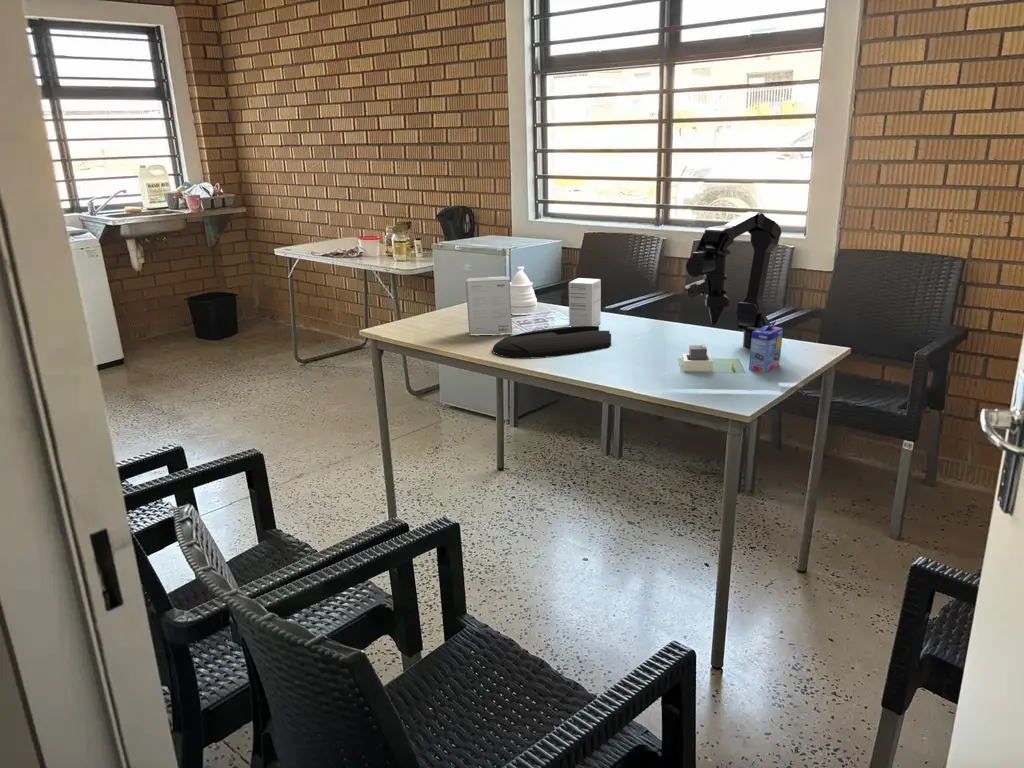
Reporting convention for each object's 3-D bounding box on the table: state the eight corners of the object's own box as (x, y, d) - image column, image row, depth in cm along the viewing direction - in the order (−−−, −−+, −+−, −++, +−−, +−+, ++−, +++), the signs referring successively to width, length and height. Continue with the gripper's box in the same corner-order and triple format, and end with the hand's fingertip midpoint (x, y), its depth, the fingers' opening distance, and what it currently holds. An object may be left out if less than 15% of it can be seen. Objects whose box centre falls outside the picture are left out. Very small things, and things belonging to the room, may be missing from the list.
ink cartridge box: (766, 376, 212) (769, 325, 207) (747, 372, 215) (750, 323, 211) (780, 368, 219) (784, 319, 214) (762, 365, 222) (765, 317, 218)
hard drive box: (512, 330, 275) (510, 276, 269) (512, 335, 267) (510, 279, 261) (470, 331, 275) (467, 277, 269) (468, 336, 268) (465, 281, 262)
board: (677, 361, 229) (677, 353, 228) (738, 361, 226) (739, 353, 226) (680, 375, 215) (680, 367, 214) (745, 376, 212) (746, 367, 211)
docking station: (481, 346, 255) (480, 332, 254) (587, 332, 269) (587, 319, 268) (508, 364, 233) (508, 349, 232) (623, 348, 247) (623, 333, 246)
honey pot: (508, 309, 311) (506, 265, 306) (539, 309, 309) (538, 265, 304) (502, 315, 299) (501, 270, 294) (535, 316, 297) (533, 270, 292)
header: (682, 363, 223) (682, 353, 222) (710, 363, 222) (710, 353, 221) (683, 371, 215) (684, 361, 215) (712, 371, 214) (713, 361, 213)
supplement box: (578, 322, 284) (577, 277, 279) (601, 323, 280) (601, 278, 275) (568, 327, 276) (568, 281, 271) (592, 329, 272) (592, 283, 267)
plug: (688, 365, 221) (689, 343, 219) (704, 365, 220) (705, 343, 219) (690, 369, 217) (690, 347, 215) (706, 369, 216) (707, 347, 214)
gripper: (685, 267, 228) (683, 317, 233) (689, 278, 211) (687, 332, 215) (722, 266, 226) (720, 317, 231) (730, 277, 209) (728, 332, 214)
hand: (713, 324), depth 223 cm, fingers closed
